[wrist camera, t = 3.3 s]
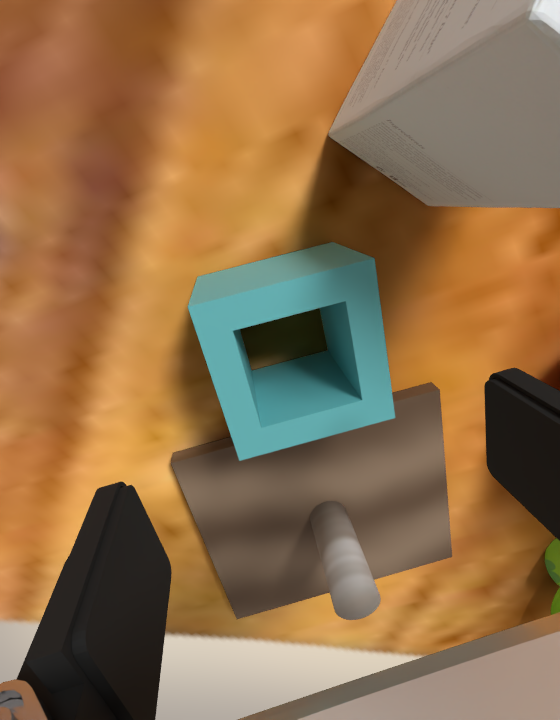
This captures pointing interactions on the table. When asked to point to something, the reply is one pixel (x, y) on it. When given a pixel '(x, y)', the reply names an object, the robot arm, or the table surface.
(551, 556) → the toy crocodile
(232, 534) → the post board
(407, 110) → the small box
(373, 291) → the bead
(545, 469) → the robot arm
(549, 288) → the table surface
